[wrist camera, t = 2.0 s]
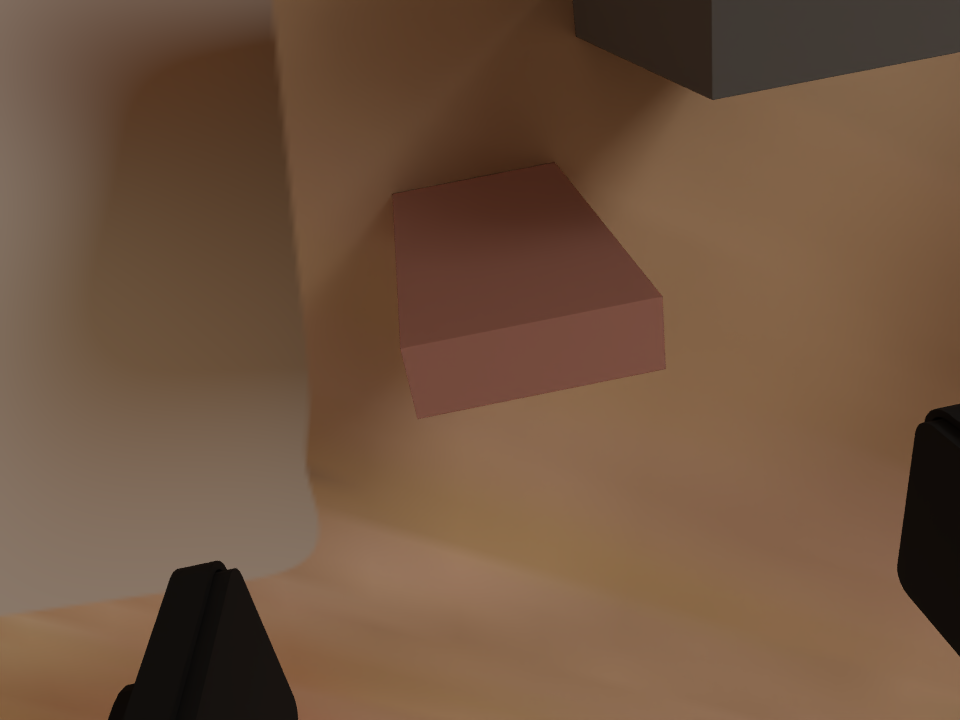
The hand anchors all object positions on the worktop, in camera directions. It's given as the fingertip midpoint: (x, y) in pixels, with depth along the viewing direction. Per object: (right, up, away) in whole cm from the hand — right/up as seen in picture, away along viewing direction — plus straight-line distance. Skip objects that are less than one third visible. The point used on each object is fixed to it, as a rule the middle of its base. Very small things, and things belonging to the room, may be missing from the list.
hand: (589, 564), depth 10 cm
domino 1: (-2, +8, +13) cm, 15 cm away
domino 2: (+4, +13, +11) cm, 17 cm away
